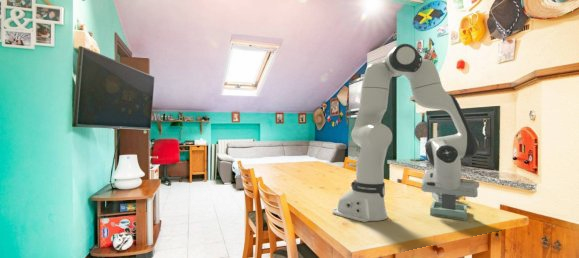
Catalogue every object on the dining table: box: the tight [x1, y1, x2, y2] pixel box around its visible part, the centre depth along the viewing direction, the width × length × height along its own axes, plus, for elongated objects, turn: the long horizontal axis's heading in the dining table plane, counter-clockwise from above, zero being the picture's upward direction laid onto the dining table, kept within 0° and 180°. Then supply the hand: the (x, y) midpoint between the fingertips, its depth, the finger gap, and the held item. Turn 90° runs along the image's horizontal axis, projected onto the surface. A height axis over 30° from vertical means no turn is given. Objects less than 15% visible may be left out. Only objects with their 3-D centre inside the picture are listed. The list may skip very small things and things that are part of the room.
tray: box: [429, 200, 468, 222], centre depth 118 cm, size 13×13×3 cm
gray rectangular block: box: [442, 194, 457, 210], centre depth 118 cm, size 5×5×8 cm
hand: (448, 197), depth 118 cm, fingers closed on gray rectangular block, 5 cm apart
